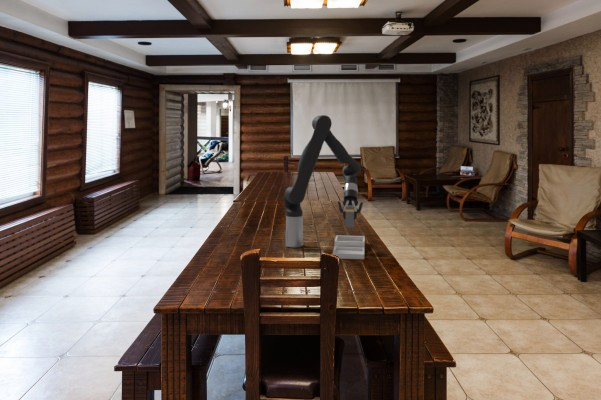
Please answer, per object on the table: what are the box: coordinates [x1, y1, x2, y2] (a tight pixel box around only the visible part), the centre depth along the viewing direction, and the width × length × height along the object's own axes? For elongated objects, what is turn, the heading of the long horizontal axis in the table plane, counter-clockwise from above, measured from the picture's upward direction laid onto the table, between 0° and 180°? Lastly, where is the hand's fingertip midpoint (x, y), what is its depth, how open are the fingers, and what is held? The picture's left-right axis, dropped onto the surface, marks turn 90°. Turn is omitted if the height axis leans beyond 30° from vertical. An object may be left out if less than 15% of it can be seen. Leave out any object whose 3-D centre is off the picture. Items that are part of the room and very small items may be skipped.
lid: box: [332, 246, 365, 260], centre depth 256 cm, size 16×14×2 cm
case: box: [334, 235, 366, 249], centre depth 270 cm, size 16×16×5 cm
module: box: [344, 205, 355, 228], centre depth 262 cm, size 4×5×11 cm
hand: (349, 218), depth 260 cm, fingers closed on module, 4 cm apart
